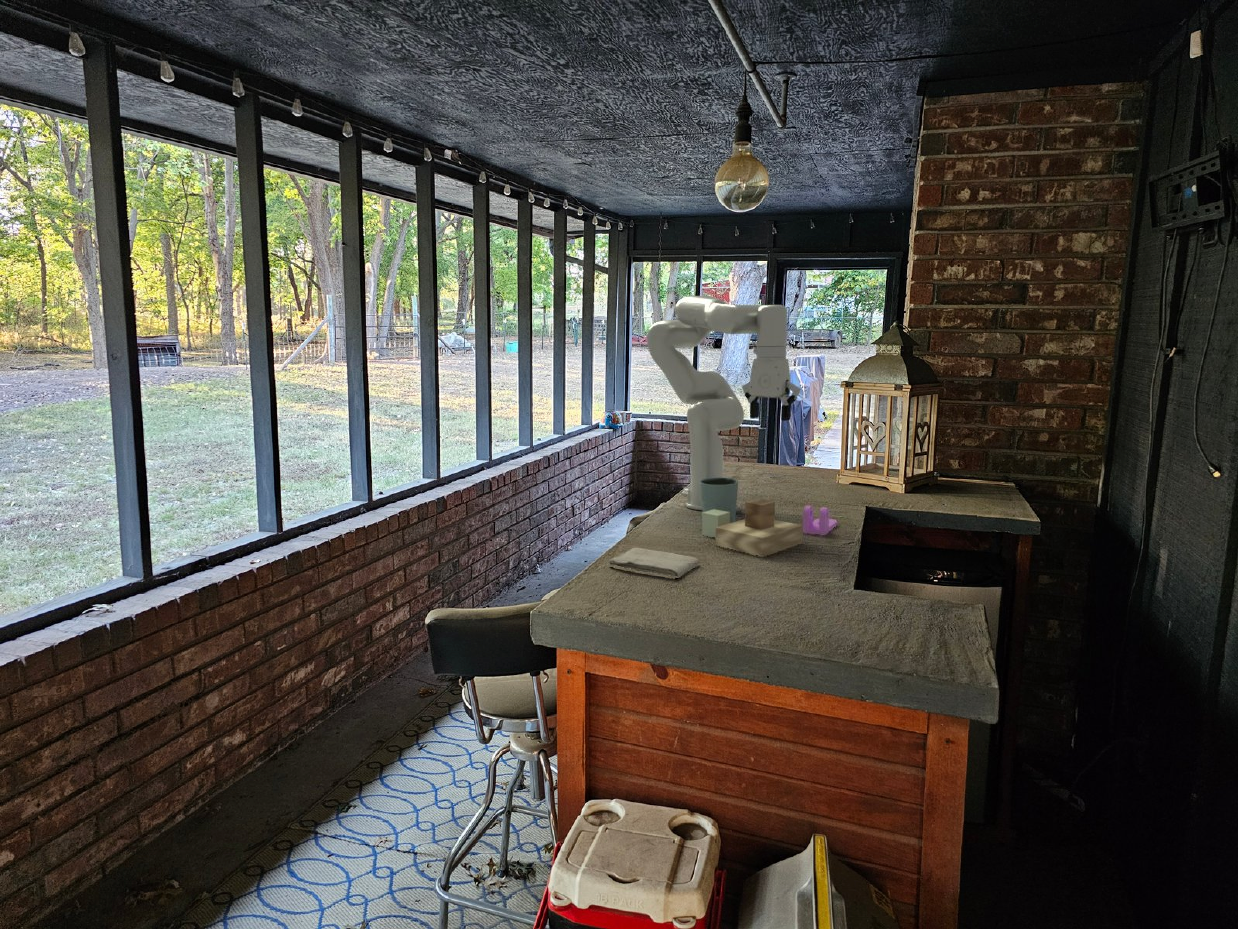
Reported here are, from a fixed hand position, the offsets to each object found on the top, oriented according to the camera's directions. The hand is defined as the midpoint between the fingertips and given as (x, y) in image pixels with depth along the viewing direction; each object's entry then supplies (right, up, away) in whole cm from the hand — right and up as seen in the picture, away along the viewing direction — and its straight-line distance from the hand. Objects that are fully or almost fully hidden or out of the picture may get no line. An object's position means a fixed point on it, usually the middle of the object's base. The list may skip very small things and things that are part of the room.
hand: (769, 418), depth 204 cm
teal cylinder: (-13, -28, +4) cm, 31 cm away
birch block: (-6, -32, -15) cm, 36 cm away
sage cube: (-15, -30, -6) cm, 34 cm away
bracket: (+13, -29, -1) cm, 32 cm away
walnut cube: (-6, -27, -16) cm, 32 cm away
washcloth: (-32, -35, -32) cm, 57 cm away
